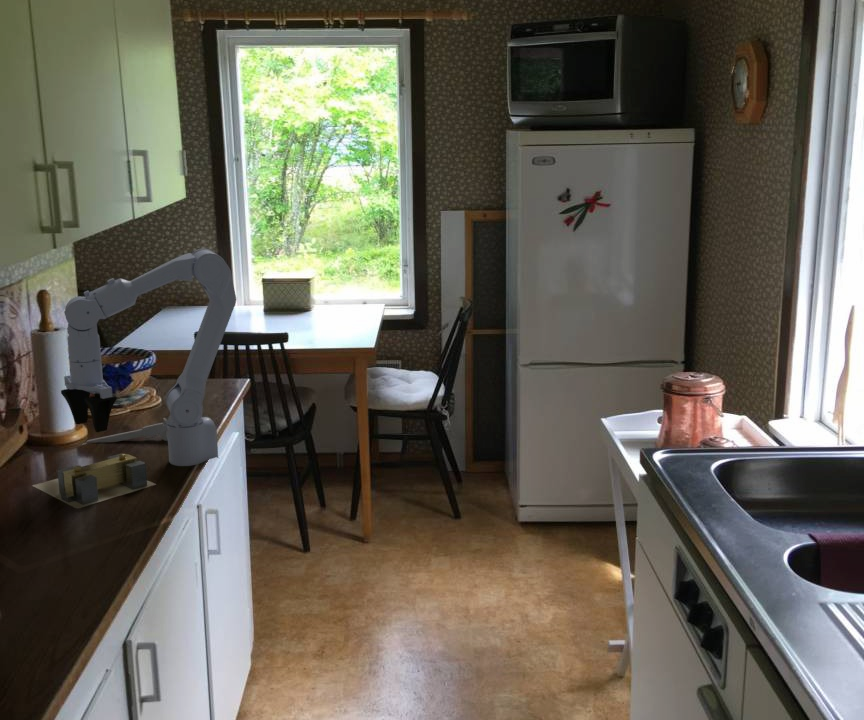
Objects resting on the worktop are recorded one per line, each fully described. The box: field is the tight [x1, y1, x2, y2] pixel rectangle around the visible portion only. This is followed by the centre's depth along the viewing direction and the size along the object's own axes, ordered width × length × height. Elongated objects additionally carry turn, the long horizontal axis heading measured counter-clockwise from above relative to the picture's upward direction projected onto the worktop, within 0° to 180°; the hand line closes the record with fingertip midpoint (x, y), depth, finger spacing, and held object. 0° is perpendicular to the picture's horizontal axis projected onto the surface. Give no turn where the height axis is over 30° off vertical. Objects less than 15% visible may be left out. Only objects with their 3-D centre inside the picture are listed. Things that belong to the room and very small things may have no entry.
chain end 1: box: [56, 465, 98, 505], centre depth 165 cm, size 4×8×4 cm, turn 49°
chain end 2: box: [107, 453, 148, 490], centre depth 173 cm, size 4×8×4 cm, turn 49°
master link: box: [63, 453, 138, 496], centre depth 169 cm, size 13×3×5 cm, turn 139°
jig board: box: [31, 478, 157, 510], centre depth 172 cm, size 16×17×1 cm
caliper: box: [81, 417, 168, 446], centre depth 198 cm, size 20×1×6 cm, turn 97°
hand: (91, 427), depth 177 cm, fingers open, 7 cm apart
